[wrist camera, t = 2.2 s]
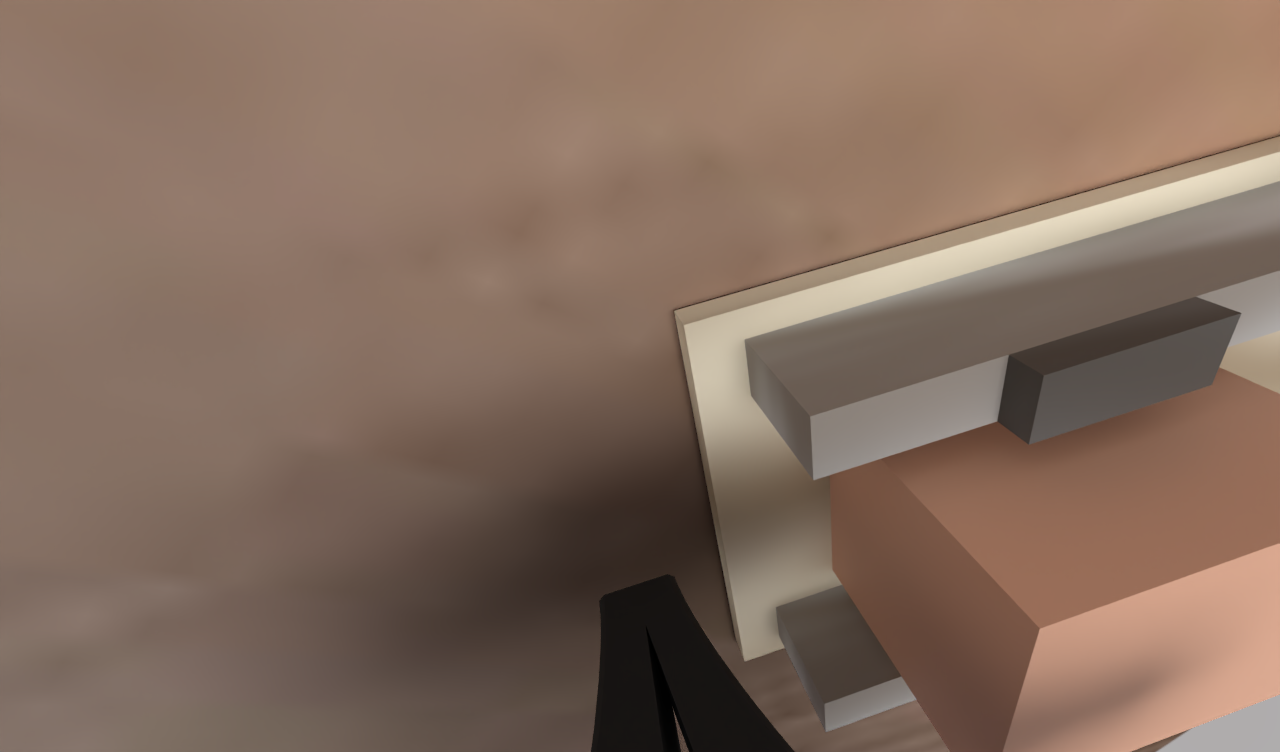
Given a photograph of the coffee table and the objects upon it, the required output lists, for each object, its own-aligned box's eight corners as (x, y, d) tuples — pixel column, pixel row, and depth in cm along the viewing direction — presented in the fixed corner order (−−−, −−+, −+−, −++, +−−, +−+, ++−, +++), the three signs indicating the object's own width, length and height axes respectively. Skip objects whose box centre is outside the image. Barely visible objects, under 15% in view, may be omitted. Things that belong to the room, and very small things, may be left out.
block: (1056, 494, 14) (1300, 686, 10) (832, 569, 14) (986, 807, 9) (1105, 316, 11) (1467, 476, 7) (827, 402, 11) (1040, 628, 7)
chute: (1398, 414, 17) (1597, 494, 14) (736, 641, 15) (796, 790, 12) (1650, 28, 12) (2063, 23, 9) (673, 310, 10) (754, 428, 7)
